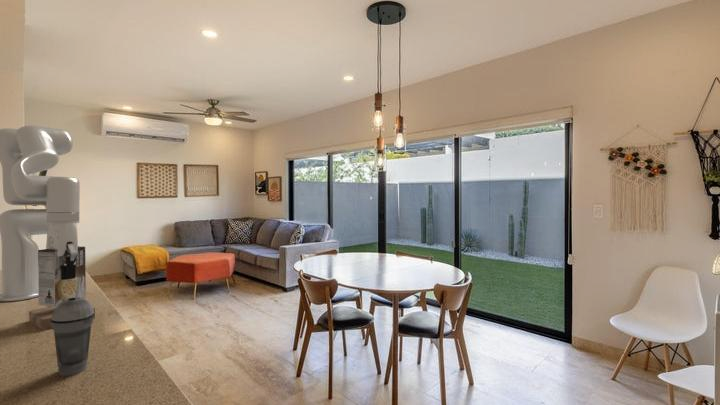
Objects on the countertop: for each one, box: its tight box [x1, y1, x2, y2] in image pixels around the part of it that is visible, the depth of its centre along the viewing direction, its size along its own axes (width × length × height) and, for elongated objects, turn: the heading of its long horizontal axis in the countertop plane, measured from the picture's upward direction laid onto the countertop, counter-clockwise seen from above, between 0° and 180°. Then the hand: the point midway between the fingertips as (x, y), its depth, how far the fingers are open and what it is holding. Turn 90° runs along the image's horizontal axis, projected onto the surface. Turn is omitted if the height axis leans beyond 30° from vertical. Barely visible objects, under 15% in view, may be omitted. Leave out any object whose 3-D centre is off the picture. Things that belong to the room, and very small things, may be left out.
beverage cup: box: [51, 277, 96, 377], centre depth 74 cm, size 7×7×20 cm
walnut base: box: [28, 306, 96, 331], centre depth 104 cm, size 12×12×3 cm
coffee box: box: [38, 246, 87, 307], centre depth 104 cm, size 9×6×16 cm
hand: (62, 276), depth 104 cm, fingers closed on coffee box, 8 cm apart
